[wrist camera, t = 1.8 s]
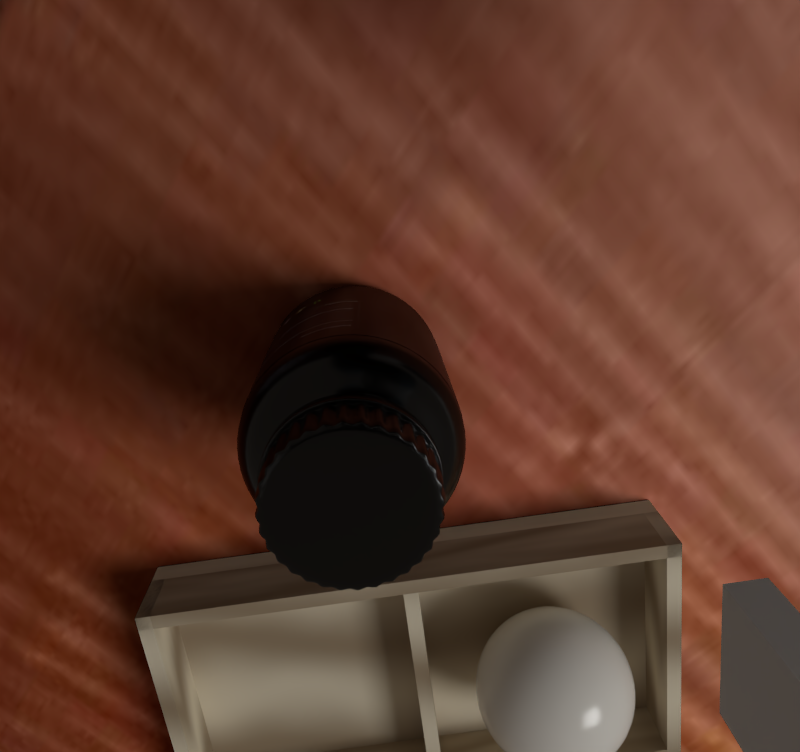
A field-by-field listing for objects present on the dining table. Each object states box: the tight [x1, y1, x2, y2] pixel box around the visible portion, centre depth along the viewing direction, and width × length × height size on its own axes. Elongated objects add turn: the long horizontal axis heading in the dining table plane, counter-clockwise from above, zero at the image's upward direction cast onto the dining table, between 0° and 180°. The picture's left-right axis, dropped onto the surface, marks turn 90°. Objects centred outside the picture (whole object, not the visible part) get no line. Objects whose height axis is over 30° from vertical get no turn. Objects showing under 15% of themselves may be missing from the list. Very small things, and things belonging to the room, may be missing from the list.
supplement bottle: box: [237, 286, 466, 590], centre depth 24 cm, size 7×7×12 cm
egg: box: [476, 606, 635, 752], centre depth 30 cm, size 6×6×6 cm
